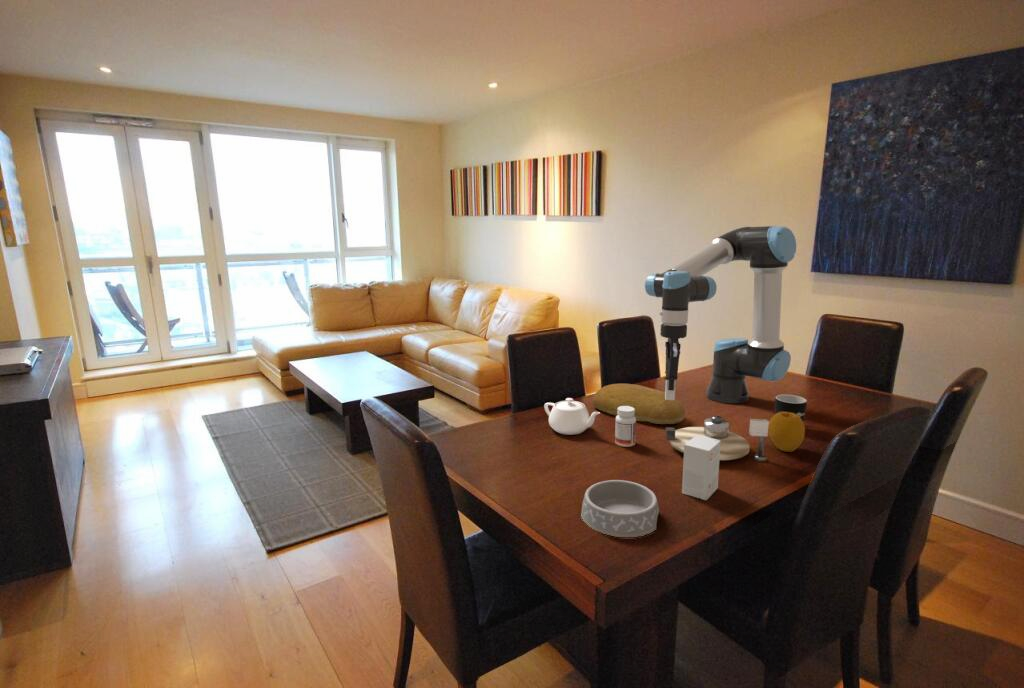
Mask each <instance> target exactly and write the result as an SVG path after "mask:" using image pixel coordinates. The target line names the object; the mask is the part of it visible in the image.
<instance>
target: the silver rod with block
mask: <svg viewBox="0 0 1024 688" xmlns="http://www.w3.org/2000/svg"><path fill="white" fill-rule="evenodd" d="M769 421H770V420H768V419H767V418H766V419H765V418H763V419H761V418H750V419H749V428H748V429H749V430H748V434H749V435H750V437H751V436H752V437H758V439H759V440H758V447H757V448H758V449H757V453H755V454H754V456H753V459H754V460H755V461H756V462H761V463H763V462H766V460H767V456H766V455H765V454H763V453H764V444H765V437H769V434H768V425H769Z"/></svg>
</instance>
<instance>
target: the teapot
mask: <svg viewBox="0 0 1024 688" xmlns="http://www.w3.org/2000/svg"><path fill="white" fill-rule="evenodd" d="M549 406H550V407H551V406H552V409H551V410H550V409H549ZM543 407H544V411H545V413H546V414H547V416H548V425H549V426H550V428H552V429H553V430H554V431H555V432H556V433H559V434H561V435H570V436H571V435H573V436H574V435H579V434H581V433H583V432H585V431H586V430H587V429H588V428H590V427H592V426H593V424H594V422H595V419H596V416H597V415H599V414H601V412H599V411H593V412H592V413H591V415H590V413H589V411H588V409H587V406H586V405H585V404H584V403H583V402H580V401H577V400H574V398H572V397H566V398H565V400H560V401H558V402H555V403H554V402H546V403H544V405H543Z"/></svg>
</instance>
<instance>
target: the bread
mask: <svg viewBox="0 0 1024 688" xmlns="http://www.w3.org/2000/svg"><path fill="white" fill-rule="evenodd" d="M591 399H592V400H591V402H592V404H593V405H594V407H595V408H596V409H598V410H599V411H602V412H603V413H604V412H605V413H606V414H608V415H612V416H615V417H616V416H617V415H618V414H617V410H618V407H620V406H630V407H633V408H634V409H635V415H634V416H635V418H636V422H648V423H651V424H656V425H658V424H659V425H667V424H668V425H674V424H678V423H680V422H682V421H683V420H684V419H685V417H686V411H685V407H684V406H683V405H682V403H681V402H680V401H679V400H677V399H676V398H675V400H665V391H661V390H659V389H655V388H652V387H647V386H643V385H639V384H633V383H632V384H631V383H612V384H608V385H604V386H603V387H601V388H599V389H598V390H596V392H595V393H594V394H593V395H592V398H591Z"/></svg>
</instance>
